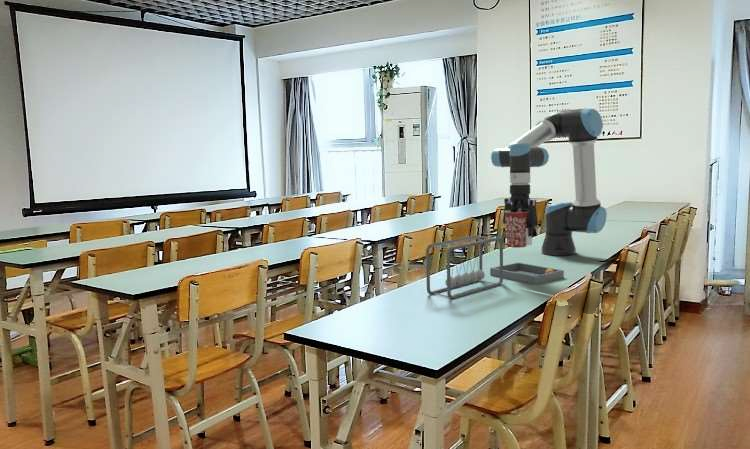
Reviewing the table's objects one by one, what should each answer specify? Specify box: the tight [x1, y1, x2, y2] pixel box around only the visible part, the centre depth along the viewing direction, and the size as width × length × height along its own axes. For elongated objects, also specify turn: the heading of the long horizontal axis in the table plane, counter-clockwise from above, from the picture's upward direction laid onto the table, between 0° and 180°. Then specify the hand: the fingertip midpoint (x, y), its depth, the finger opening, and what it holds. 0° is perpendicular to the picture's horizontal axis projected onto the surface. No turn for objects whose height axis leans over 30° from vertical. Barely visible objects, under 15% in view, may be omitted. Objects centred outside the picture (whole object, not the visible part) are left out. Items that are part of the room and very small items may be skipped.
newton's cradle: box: [425, 234, 504, 300], centre depth 210 cm, size 30×10×18 cm, turn 132°
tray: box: [489, 262, 565, 285], centre depth 226 cm, size 16×22×3 cm
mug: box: [505, 209, 529, 249], centre depth 226 cm, size 13×9×14 cm
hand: (520, 243), depth 227 cm, fingers closed on mug, 8 cm apart
